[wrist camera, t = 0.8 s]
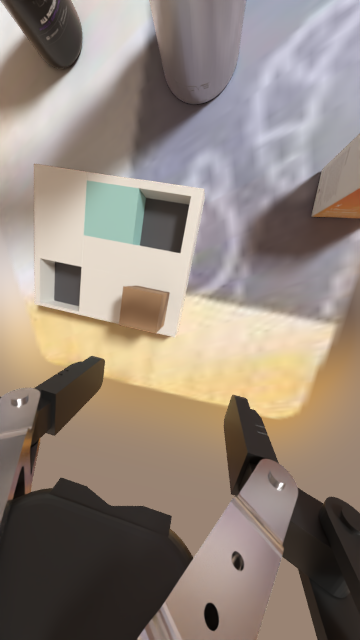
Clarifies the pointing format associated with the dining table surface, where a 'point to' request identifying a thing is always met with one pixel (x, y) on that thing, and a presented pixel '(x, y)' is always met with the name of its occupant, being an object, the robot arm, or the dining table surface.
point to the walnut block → (143, 308)
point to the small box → (340, 185)
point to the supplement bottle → (49, 28)
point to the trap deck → (111, 241)
